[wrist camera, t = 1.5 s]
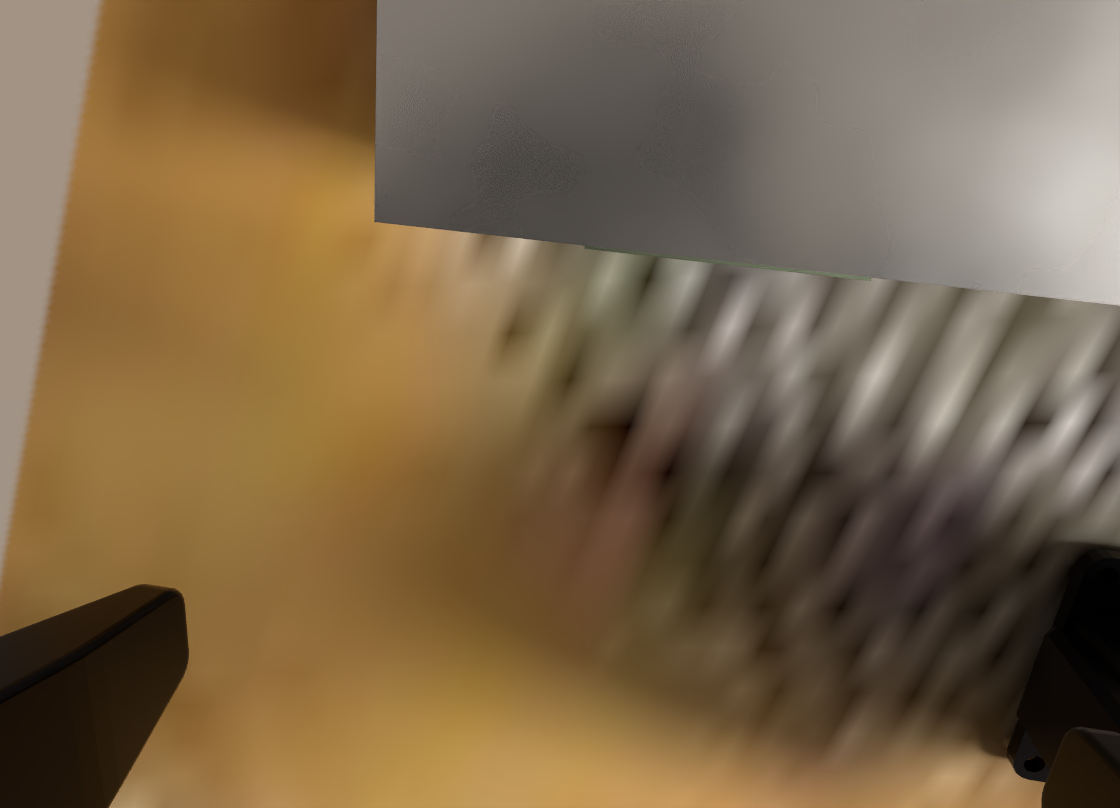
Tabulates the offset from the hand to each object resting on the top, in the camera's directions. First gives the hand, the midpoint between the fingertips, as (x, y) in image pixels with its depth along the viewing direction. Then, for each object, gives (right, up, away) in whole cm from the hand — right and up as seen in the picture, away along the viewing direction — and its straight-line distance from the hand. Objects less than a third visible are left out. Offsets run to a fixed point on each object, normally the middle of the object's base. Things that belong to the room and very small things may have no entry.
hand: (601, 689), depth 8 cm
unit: (+3, +10, +8) cm, 13 cm away
